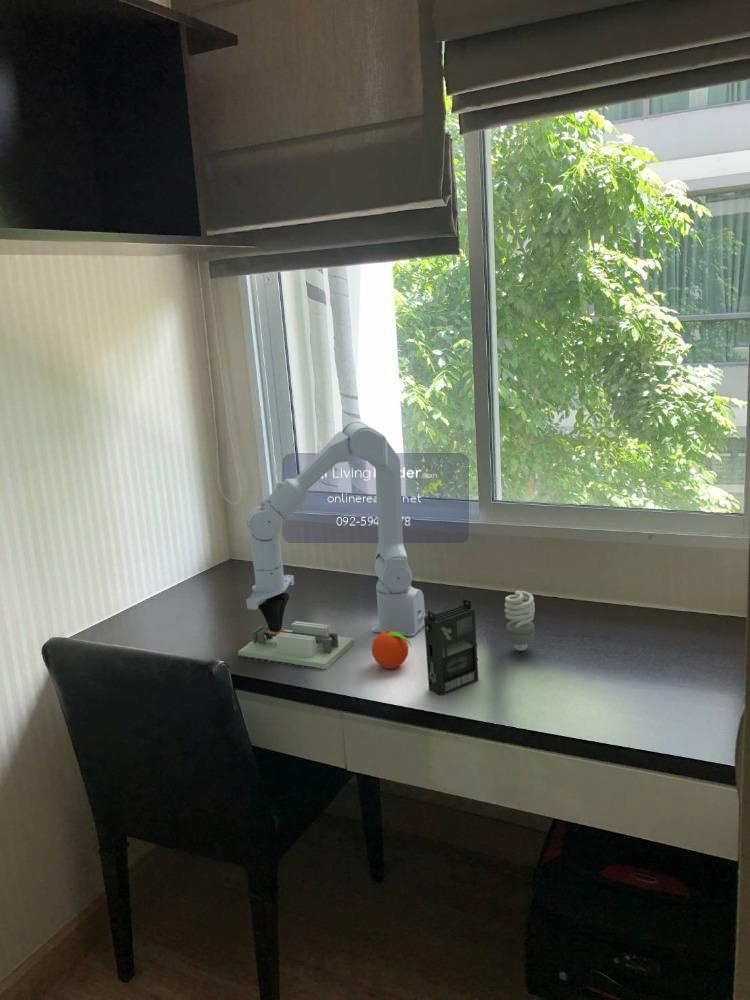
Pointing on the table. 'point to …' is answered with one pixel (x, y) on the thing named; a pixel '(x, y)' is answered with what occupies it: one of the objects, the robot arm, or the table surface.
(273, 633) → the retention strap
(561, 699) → the table surface
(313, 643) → the heatsink board
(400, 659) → the clementine
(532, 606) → the light bulb
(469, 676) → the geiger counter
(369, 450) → the robot arm
